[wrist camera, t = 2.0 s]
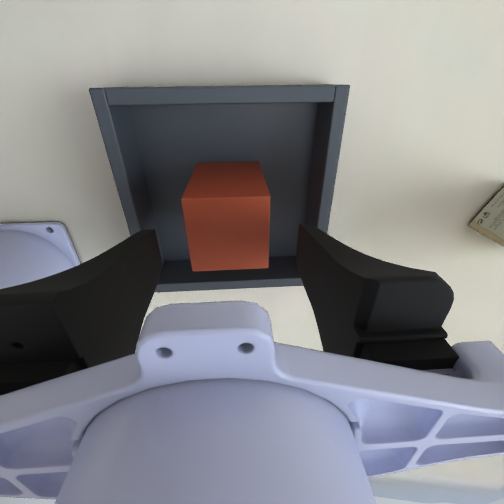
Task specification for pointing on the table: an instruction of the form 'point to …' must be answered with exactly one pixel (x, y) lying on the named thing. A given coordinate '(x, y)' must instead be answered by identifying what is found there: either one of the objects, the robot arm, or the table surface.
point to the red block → (227, 216)
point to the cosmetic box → (491, 219)
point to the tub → (223, 150)
